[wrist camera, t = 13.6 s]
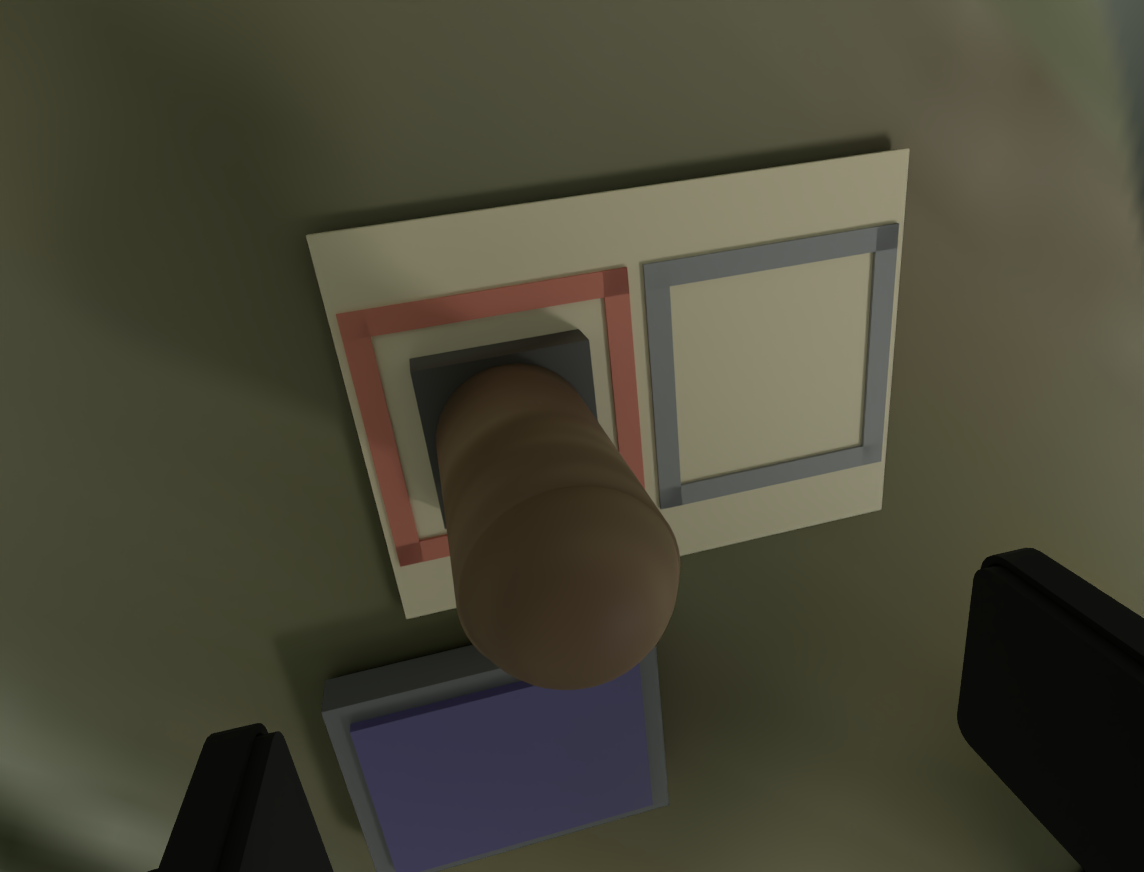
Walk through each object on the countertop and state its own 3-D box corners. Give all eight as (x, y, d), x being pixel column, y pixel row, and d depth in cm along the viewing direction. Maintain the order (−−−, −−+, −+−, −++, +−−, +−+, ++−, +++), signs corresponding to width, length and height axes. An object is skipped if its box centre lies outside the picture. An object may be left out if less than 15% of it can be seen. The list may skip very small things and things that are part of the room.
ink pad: (641, 604, 21) (658, 637, 19) (656, 773, 24) (672, 813, 22) (325, 680, 19) (319, 721, 18) (382, 850, 22) (381, 897, 21)
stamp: (579, 328, 17) (724, 488, 9) (595, 477, 19) (731, 713, 11) (409, 358, 16) (420, 555, 9) (442, 509, 18) (476, 783, 10)
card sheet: (904, 148, 17) (912, 148, 17) (877, 506, 21) (883, 510, 21) (306, 234, 15) (305, 236, 15) (406, 614, 19) (406, 621, 19)
